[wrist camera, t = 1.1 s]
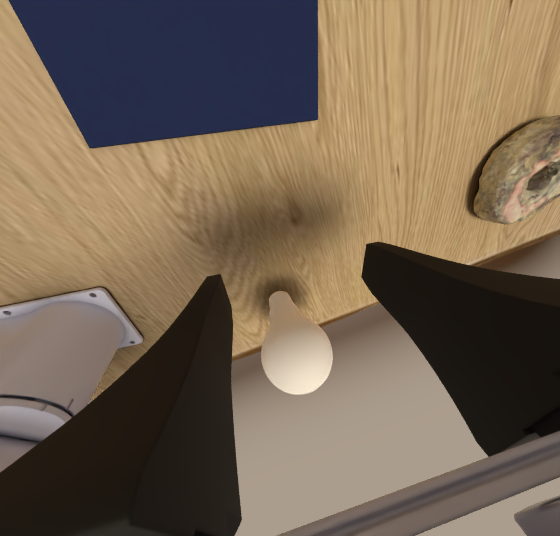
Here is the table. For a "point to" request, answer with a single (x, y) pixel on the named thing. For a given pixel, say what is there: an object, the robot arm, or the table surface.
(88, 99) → the cloth
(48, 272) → the table surface
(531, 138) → the stone ring
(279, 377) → the lightbulb
